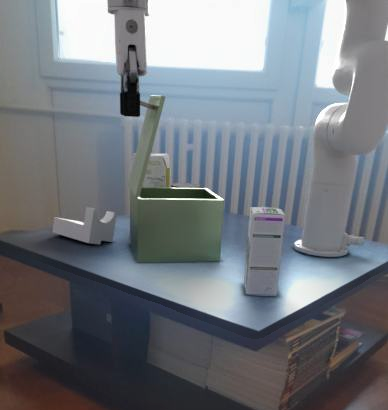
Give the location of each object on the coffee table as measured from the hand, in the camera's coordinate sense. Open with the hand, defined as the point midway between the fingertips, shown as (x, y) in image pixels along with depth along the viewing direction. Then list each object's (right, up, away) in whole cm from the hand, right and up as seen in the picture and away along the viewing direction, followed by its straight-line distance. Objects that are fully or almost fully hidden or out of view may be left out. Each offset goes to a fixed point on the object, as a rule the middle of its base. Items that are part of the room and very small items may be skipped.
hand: (129, 114), depth 97 cm
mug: (+9, -11, +41) cm, 44 cm away
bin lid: (+3, -5, +3) cm, 6 cm away
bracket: (-13, -20, +21) cm, 32 cm away
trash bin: (+8, -24, +14) cm, 29 cm away
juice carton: (+1, -17, +28) cm, 33 cm away
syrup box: (+24, -35, -6) cm, 43 cm away
